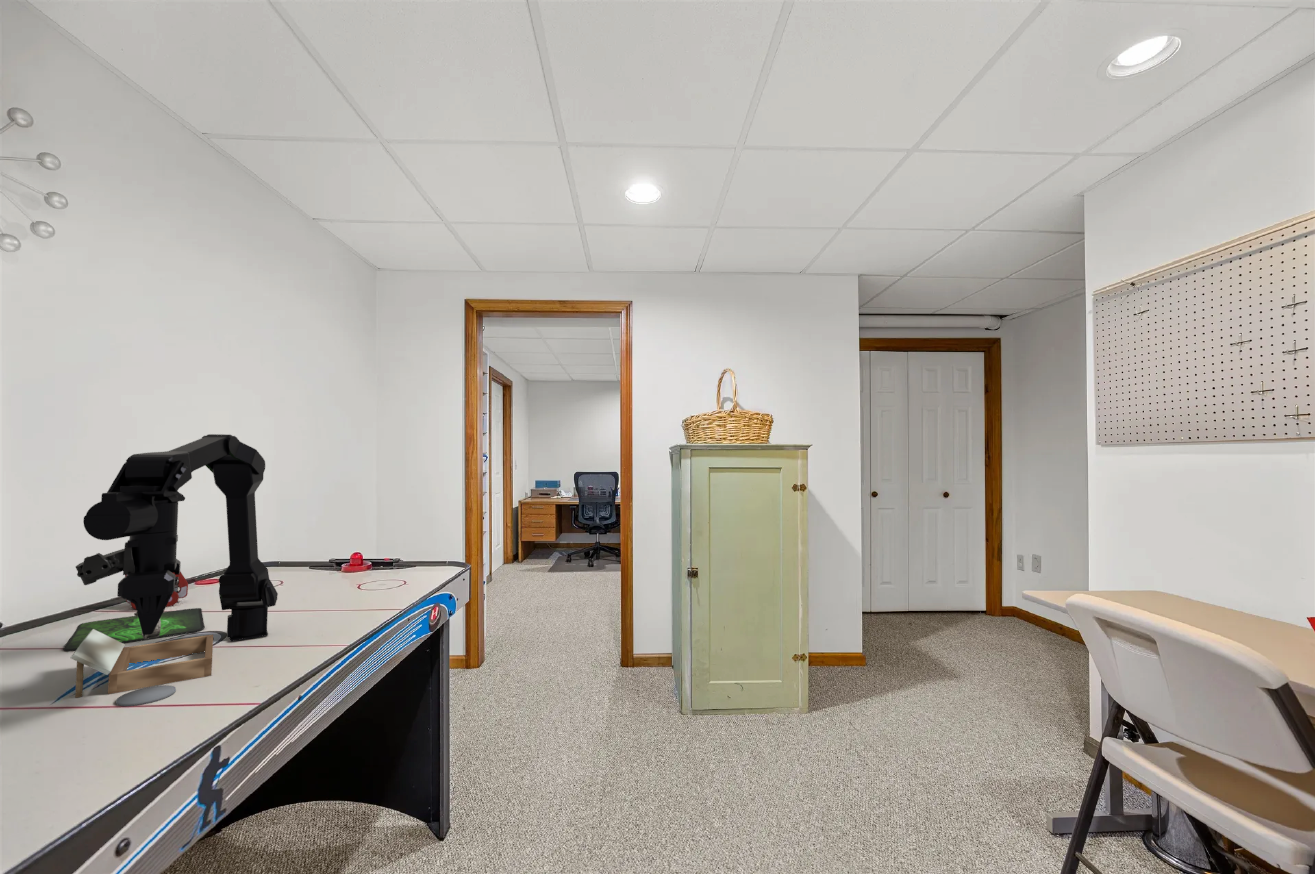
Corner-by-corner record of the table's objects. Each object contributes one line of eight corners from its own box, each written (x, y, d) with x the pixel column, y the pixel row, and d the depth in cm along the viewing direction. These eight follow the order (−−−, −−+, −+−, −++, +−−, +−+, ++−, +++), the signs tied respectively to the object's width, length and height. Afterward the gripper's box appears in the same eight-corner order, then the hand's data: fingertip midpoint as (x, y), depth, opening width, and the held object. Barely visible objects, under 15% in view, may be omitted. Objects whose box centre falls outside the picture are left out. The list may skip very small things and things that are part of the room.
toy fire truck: (187, 604, 146) (189, 564, 147) (121, 612, 138) (124, 570, 139) (187, 599, 152) (189, 561, 152) (124, 607, 144) (126, 566, 144)
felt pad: (177, 684, 94) (177, 681, 94) (174, 698, 88) (174, 695, 88) (119, 694, 89) (119, 692, 89) (112, 710, 84) (112, 707, 84)
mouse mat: (78, 624, 129) (79, 620, 129) (201, 608, 144) (201, 604, 144) (61, 655, 109) (61, 649, 109) (205, 632, 123) (206, 628, 123)
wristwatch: (159, 631, 93) (160, 600, 93) (167, 638, 89) (169, 607, 89) (131, 636, 90) (132, 604, 90) (138, 644, 86) (139, 611, 86)
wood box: (212, 649, 111) (214, 613, 111) (211, 675, 98) (213, 634, 98) (88, 669, 100) (90, 629, 101) (67, 701, 87) (70, 655, 87)
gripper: (94, 529, 92) (89, 624, 92) (69, 542, 78) (64, 656, 77) (182, 524, 99) (178, 613, 99) (175, 536, 85) (171, 640, 84)
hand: (149, 629), depth 89 cm, fingers closed on wristwatch, 6 cm apart
